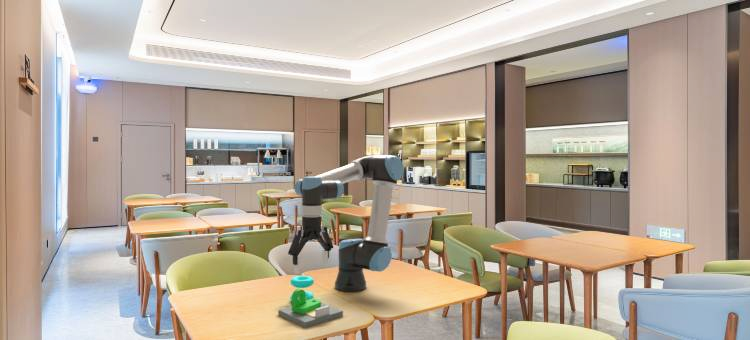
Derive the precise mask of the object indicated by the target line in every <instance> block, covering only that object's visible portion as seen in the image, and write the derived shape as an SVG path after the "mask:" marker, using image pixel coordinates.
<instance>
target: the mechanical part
mask: <svg viewBox="0 0 750 340" xmlns="http://www.w3.org/2000/svg"><path fill="white" fill-rule="evenodd" d="M305 291H306V290H304V289H303V288H296V289H295V290H293V292H292V293H291V295H292V301H291V306H292V311H294V312H297V313H301V314H305V313H307V312H310V311H312V310H315V309H317V308H320V307H321V302H322V301H321V299H317V298H315V297H314V298H312V299H309V300H306V294H305ZM299 295H300V296H299ZM298 296H299V299H298Z"/></svg>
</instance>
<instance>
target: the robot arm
mask: <svg viewBox="0 0 750 340" xmlns="http://www.w3.org/2000/svg"><path fill="white" fill-rule="evenodd" d="M404 171H405V169H404V165H403V162H402V160H401V158H399V157H398V156H397V155H392V154H381V155H379V154H378V155H377V154H371V155H365V156H363V157H360V158H357V159H354V160H352V161H350V162H349V163H348V164H346V165H344V166H341V167H339V168H335V169H332V170H329V171H327V172H324V173H322V174H318V175H316V176H312V175H311V176H309V175H307V176H304V177H303V178H299V179H298V180H297V181H295V183H294V187H293V188H294V192H295V194H296V195H297V196H299V197H302V199H301V215H302V217H301V226H302V229H295V231H294V237H293V239H292V242H291V244H290V246H289V249H288V252H287V254H288V255H290V256H292V265H293V273H295V274H298V275H299V274H301V256H300V253H301V252H302V250H303V248H304V247H305V245H306V244H307V242H309V241H312V240H317V242H318V243H319V244H320V246H321V247H322V248H323V250H322V252H321V253H322V256H321V258H322V259H321V266H322V268H323V267H324V268H328V267H329V259H330V252H331V251H332V249H334V244H333V243H332V242H333V241H332V239H331V237H330V235H329V232H328V226H324V225H322V216H321V215H322V204H323V203H322V201H323V200H333V199H334V200H335V199H340V198H342V196H343V195H344V192H345V187H344V184H346V183H348V182H351V181H359V180H364V179H367V180H369V179H370V180H372V183H373V185H374V191H373V196H372V202H371V203H372V204H371V208H370V209H371V210H370V217H369V223H368V229H367V235H366V237H364V238H350V239H349V238H348V239H343V240H341V241H340V242H339V244H338V273H337V276H336V279H335V282H334V288H335V289H336V290H338V291H340V292H349V293H350V292H359V291H360V292H361V291H363V290H365V289H367V281H366V276H365V274H364V270H366V271H367V270H368V271H371V272H378V273H379V272H383V271H385V270H386V269H387V268H388V267H389V265H390V264H391V261H392V259H393V257H392V256H393V255H392V254H393V253H392V251H391V248H390V247H389V242H388V241H387V233H388V231H387V230H388V223H389V218H390V217H389V216H390V210H391V205H392V204H391V203H392V198H393V189H394V188H395V187H396V186H397V185H398V181H400V180H402V178H403V177H404Z"/></svg>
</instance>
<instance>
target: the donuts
mask: <svg viewBox="0 0 750 340" xmlns="http://www.w3.org/2000/svg"><path fill="white" fill-rule="evenodd" d="M314 282H315V279H314V278H313V277H312V276H309V275H296V276H294V277H291V278H290V285H292V287H294V288H296V289H305V288H310V287H311V286H313V285H314ZM304 291H305V294H306V300H309V299H312V298H315V297H314V294H313V293H312V292H311V291H308V290H304ZM299 296H300V295H299ZM299 296H298V298H299ZM290 301H291V302H292V294H291V295H290Z"/></svg>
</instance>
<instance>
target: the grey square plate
mask: <svg viewBox="0 0 750 340" xmlns="http://www.w3.org/2000/svg"><path fill="white" fill-rule="evenodd" d="M298 299H299V298H298ZM277 311H278V313H277V314H278V315H279V316H280V317H282V318H285V319H286V320H288V321H291V322H293V323H294V324H297V325H299V326H301V327H303V328H305V329H307V328H308V327H309V328H310V327H312V326H315V325H319V324H321V323H325V322H328V321H332V320H335V319H338V318H340V317H343V316H344V310H342V309H339V308H337V307H334V306H332V305H329V304H326V303H323V302H322V301H321V307H320V308H317V309H315V310H312V311H310V312H307V313H305V314H301V313H297V312H294V311H292V305H291V306H287V307H284V308H280V309H278V310H277ZM337 317H338V318H337ZM334 318H335V319H334Z"/></svg>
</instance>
